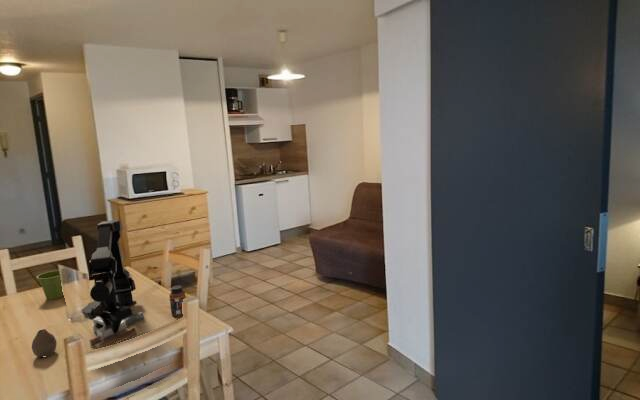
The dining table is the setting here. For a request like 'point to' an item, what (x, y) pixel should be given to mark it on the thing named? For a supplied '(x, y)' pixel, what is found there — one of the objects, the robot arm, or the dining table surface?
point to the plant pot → (51, 284)
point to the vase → (43, 343)
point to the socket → (129, 319)
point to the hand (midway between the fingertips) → (112, 331)
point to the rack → (113, 340)
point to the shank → (110, 331)
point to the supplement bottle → (176, 300)
